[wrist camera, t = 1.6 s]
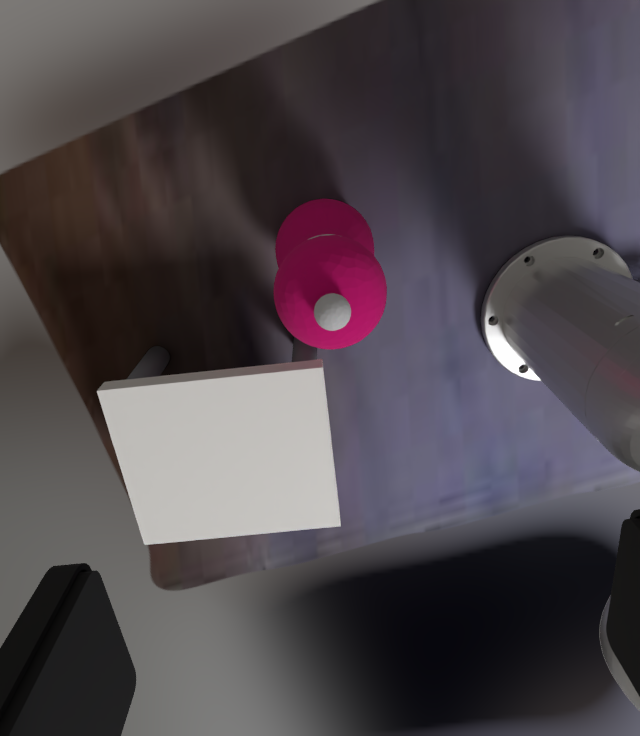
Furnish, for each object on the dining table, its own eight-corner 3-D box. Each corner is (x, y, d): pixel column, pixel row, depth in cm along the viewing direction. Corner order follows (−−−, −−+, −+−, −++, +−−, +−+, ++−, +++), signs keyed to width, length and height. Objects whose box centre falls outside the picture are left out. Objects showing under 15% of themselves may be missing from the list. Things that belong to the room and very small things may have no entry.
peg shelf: (320, 323, 45) (322, 367, 37) (335, 459, 51) (340, 526, 42) (137, 342, 46) (96, 391, 37) (172, 475, 51) (144, 544, 43)
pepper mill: (267, 207, 41) (233, 262, 23) (356, 181, 41) (394, 218, 22) (292, 293, 44) (280, 403, 26) (376, 271, 44) (424, 368, 25)
